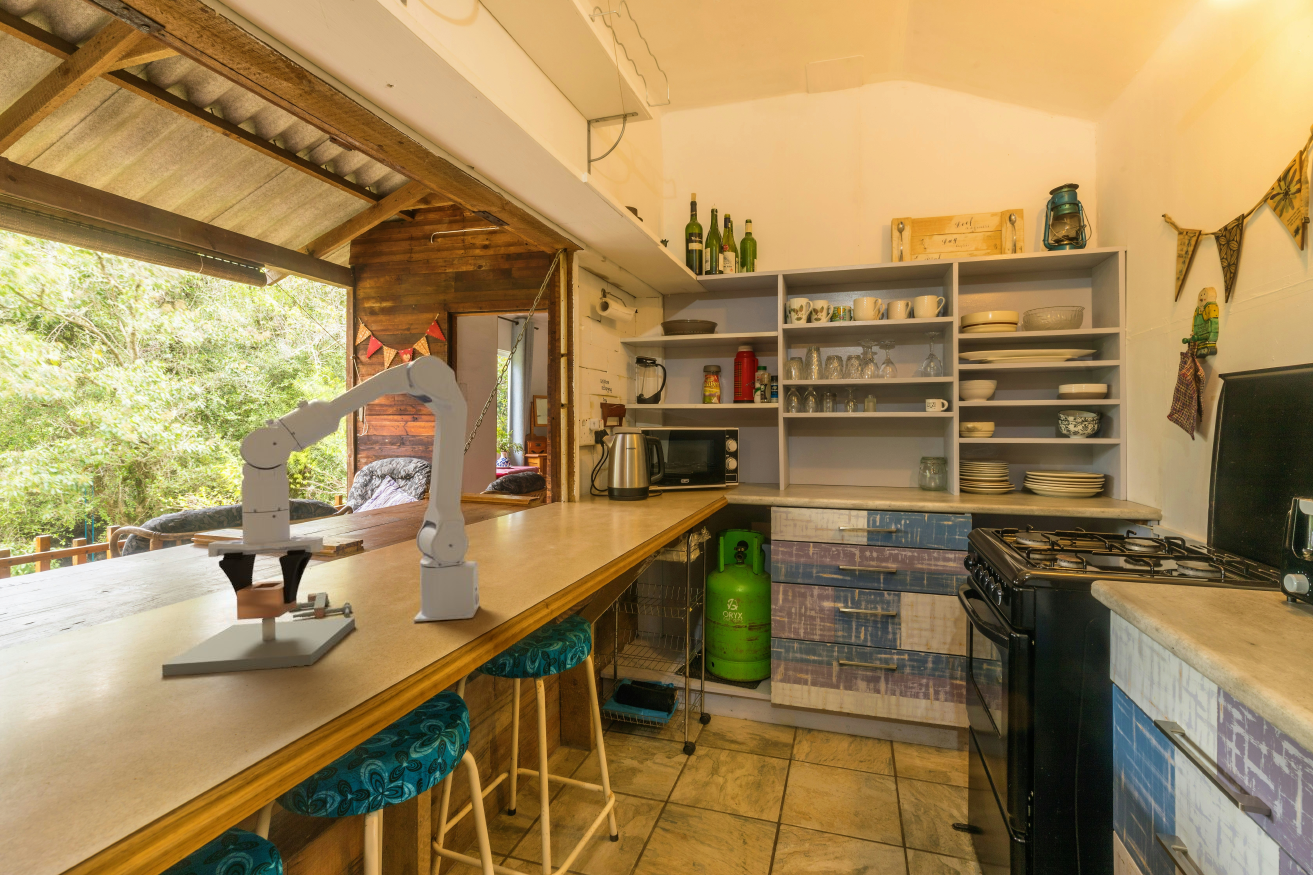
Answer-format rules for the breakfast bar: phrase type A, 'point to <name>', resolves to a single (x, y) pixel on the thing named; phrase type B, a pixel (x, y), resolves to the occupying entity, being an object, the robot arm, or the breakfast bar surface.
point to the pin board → (261, 646)
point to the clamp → (320, 606)
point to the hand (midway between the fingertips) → (268, 602)
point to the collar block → (262, 601)
